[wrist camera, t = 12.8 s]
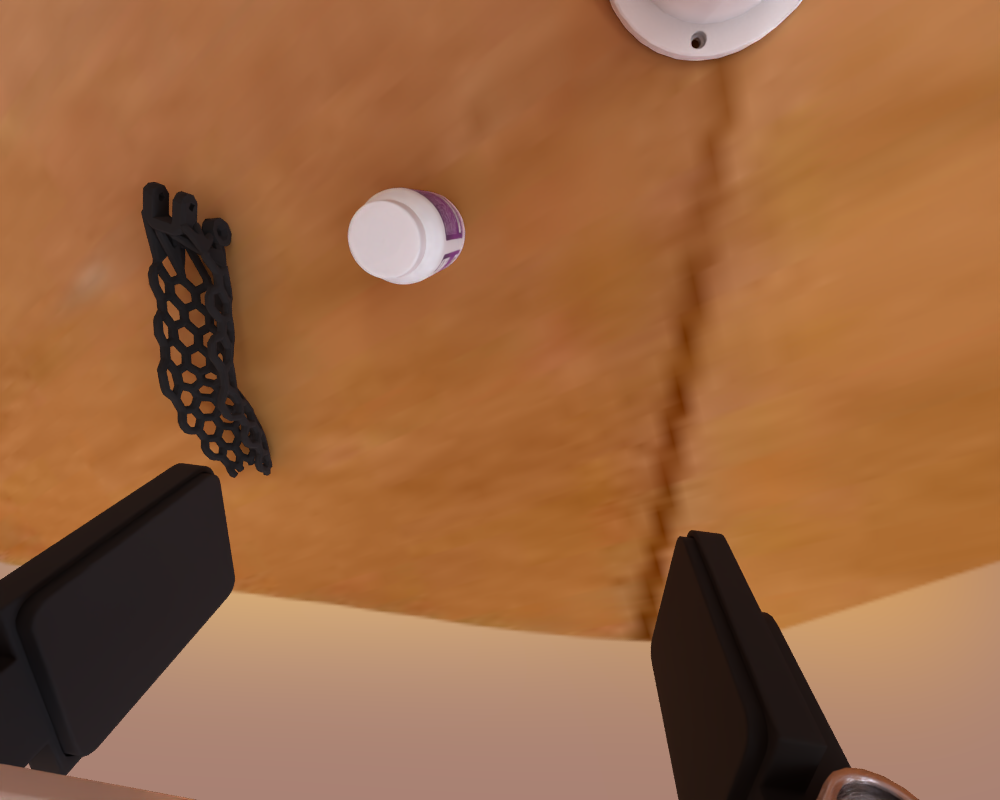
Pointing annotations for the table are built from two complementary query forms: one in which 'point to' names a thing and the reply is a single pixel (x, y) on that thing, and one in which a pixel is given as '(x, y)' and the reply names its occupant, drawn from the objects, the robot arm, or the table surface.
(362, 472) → the table surface
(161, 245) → the decorative element
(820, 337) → the table surface
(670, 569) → the robot arm
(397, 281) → the pill bottle
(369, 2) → the table surface
